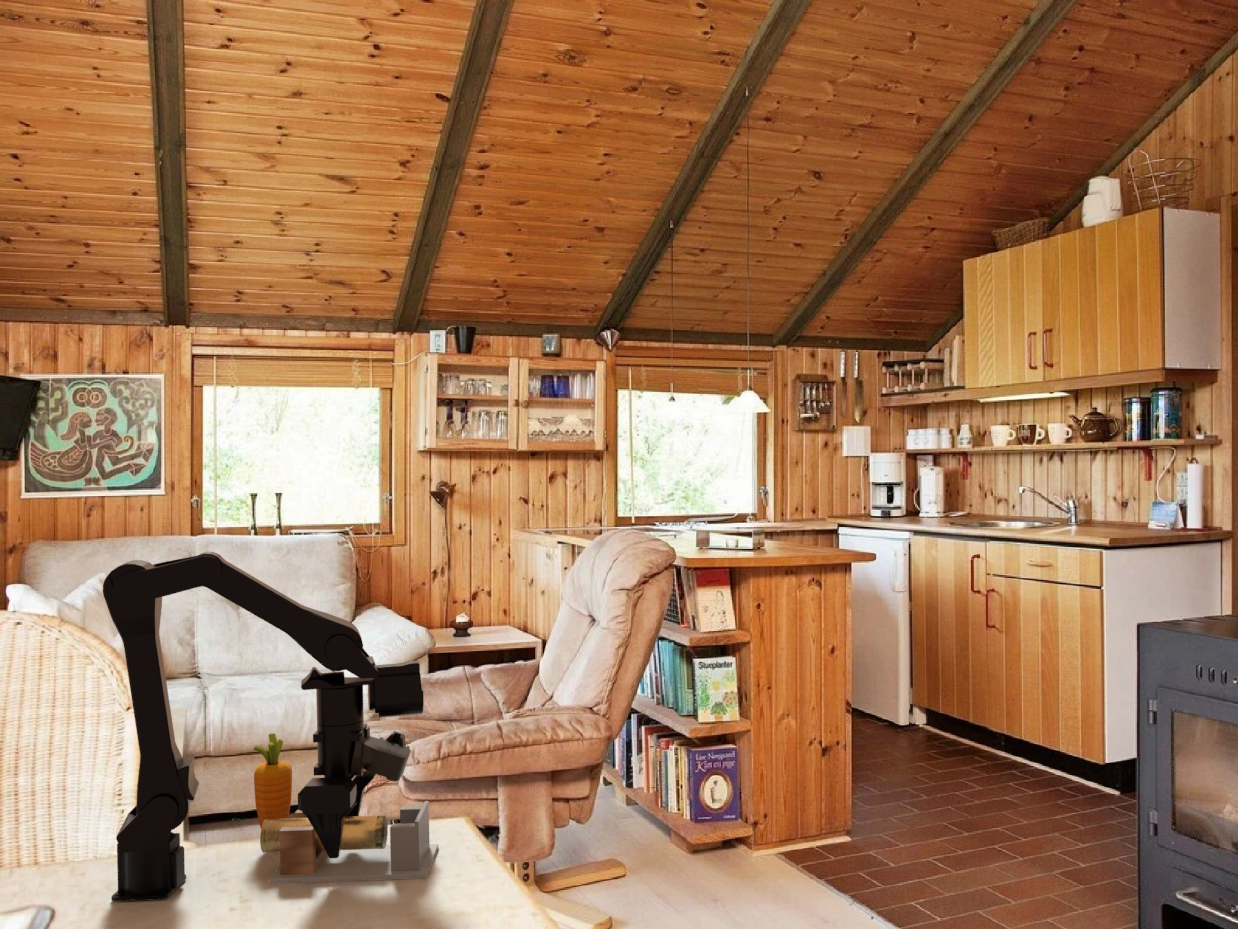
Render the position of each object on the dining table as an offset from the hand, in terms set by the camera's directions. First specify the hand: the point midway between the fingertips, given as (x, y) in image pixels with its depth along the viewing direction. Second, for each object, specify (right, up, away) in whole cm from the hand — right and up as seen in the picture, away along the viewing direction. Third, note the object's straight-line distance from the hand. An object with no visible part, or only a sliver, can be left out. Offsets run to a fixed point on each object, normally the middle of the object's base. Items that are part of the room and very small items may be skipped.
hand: (343, 844), depth 132 cm
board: (+2, -3, 0) cm, 3 cm away
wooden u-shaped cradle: (-5, -3, 0) cm, 6 cm away
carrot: (-11, -3, +7) cm, 13 cm away
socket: (+9, -3, 0) cm, 9 cm away
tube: (-2, -1, 0) cm, 2 cm away
